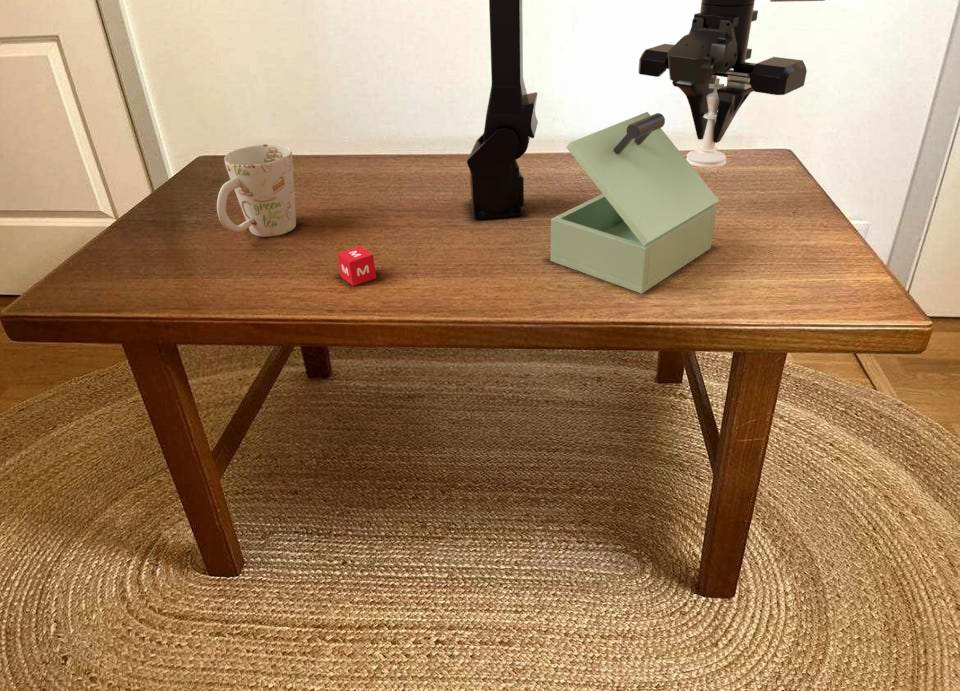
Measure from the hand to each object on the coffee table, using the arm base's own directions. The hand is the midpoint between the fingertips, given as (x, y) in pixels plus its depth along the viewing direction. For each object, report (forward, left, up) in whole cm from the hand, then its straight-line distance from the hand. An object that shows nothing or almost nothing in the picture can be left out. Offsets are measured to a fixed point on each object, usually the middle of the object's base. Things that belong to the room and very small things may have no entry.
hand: (708, 140), depth 90 cm
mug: (-57, +5, -10) cm, 58 cm away
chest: (-12, -11, -10) cm, 19 cm away
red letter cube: (-44, -11, -10) cm, 46 cm away
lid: (-12, -11, 0) cm, 16 cm away
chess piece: (0, 0, -3) cm, 3 cm away
